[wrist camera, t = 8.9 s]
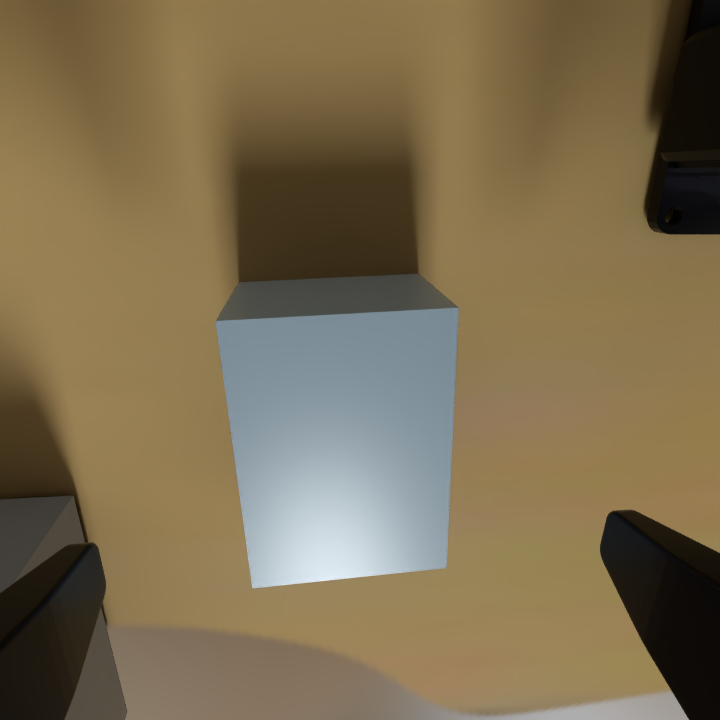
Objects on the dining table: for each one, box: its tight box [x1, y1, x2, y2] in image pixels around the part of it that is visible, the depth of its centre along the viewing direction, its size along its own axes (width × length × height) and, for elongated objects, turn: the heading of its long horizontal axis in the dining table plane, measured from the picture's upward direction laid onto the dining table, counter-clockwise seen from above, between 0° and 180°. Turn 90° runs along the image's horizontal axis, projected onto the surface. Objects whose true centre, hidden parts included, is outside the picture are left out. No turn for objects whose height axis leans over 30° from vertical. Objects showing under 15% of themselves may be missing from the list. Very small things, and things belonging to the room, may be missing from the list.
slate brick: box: [216, 274, 459, 588], centre depth 13 cm, size 5×7×4 cm
